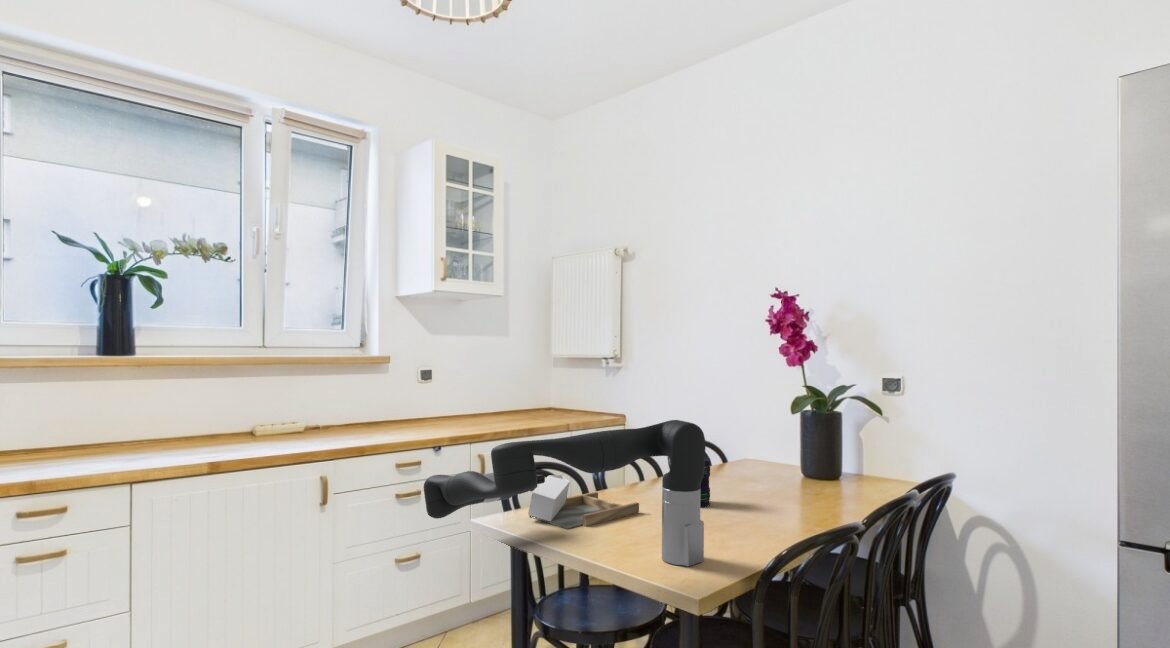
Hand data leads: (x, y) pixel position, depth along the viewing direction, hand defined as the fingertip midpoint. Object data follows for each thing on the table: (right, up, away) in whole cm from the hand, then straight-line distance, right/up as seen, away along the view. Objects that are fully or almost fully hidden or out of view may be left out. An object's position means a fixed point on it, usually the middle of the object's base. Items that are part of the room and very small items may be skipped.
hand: (543, 478), depth 178 cm
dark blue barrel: (+48, -15, +26) cm, 57 cm away
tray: (+12, -14, +10) cm, 21 cm away
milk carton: (-1, -8, 0) cm, 8 cm away
